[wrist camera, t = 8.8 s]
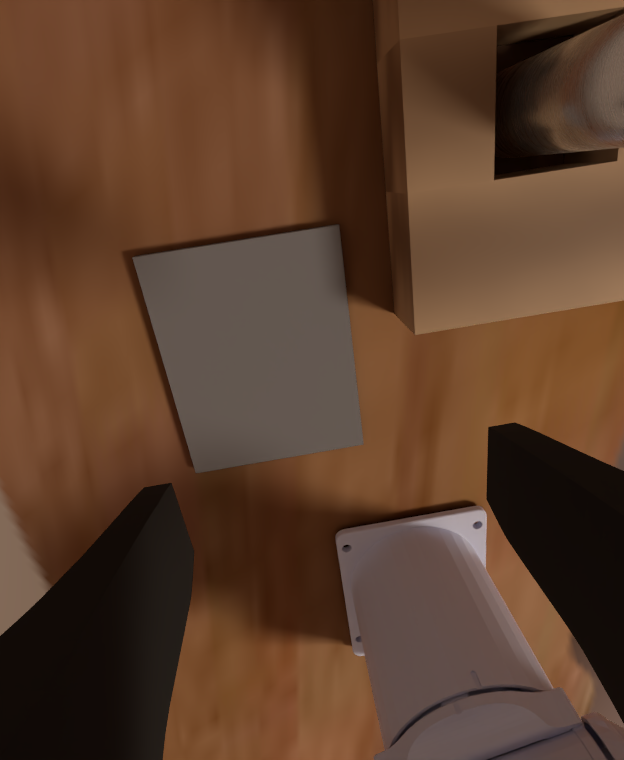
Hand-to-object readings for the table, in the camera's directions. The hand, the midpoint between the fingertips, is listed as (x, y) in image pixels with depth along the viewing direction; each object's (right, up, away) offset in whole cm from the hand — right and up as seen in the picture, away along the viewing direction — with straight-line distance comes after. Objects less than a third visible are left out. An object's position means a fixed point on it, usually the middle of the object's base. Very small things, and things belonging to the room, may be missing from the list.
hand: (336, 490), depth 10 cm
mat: (-3, +3, +10) cm, 11 cm away
